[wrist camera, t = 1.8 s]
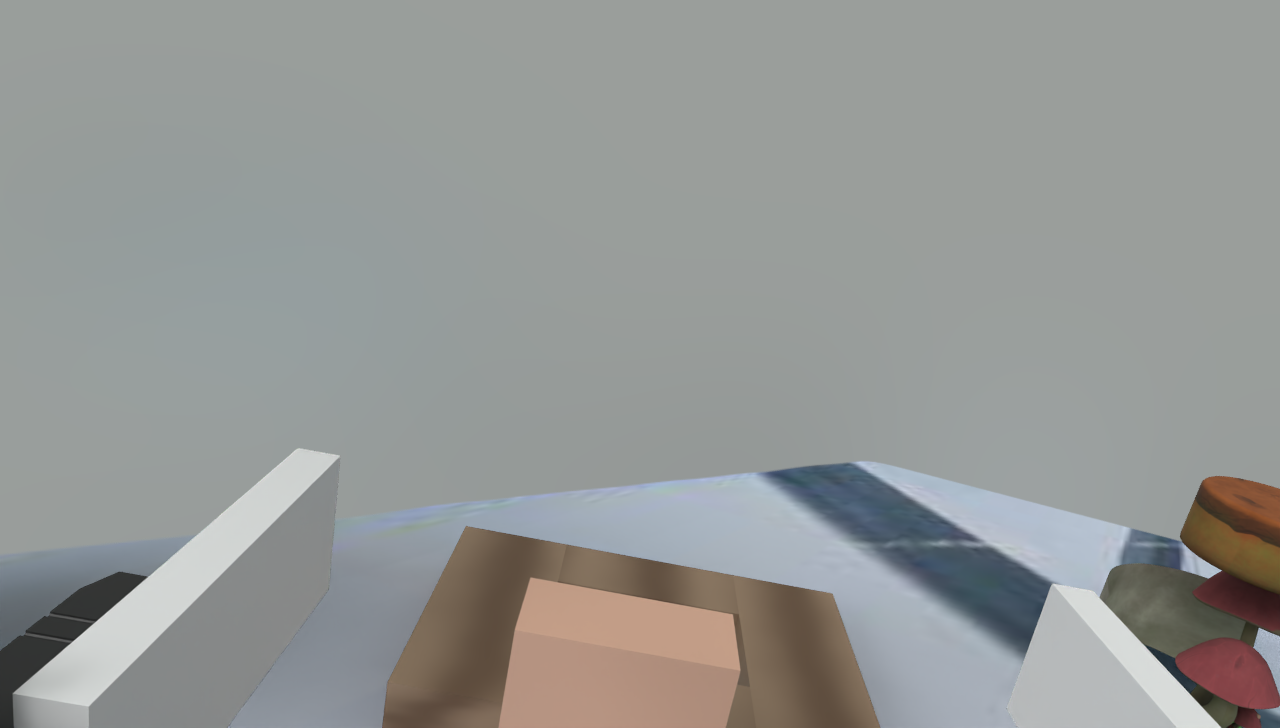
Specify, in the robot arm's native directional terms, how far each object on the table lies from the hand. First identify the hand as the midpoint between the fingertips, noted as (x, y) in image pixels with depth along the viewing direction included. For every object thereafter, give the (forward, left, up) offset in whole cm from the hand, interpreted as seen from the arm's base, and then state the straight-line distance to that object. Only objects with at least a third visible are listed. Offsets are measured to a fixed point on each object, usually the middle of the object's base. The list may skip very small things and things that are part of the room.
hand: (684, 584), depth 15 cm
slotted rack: (+2, +23, -19) cm, 30 cm away
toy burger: (+33, +26, -20) cm, 46 cm away
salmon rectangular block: (0, +10, -19) cm, 22 cm away
